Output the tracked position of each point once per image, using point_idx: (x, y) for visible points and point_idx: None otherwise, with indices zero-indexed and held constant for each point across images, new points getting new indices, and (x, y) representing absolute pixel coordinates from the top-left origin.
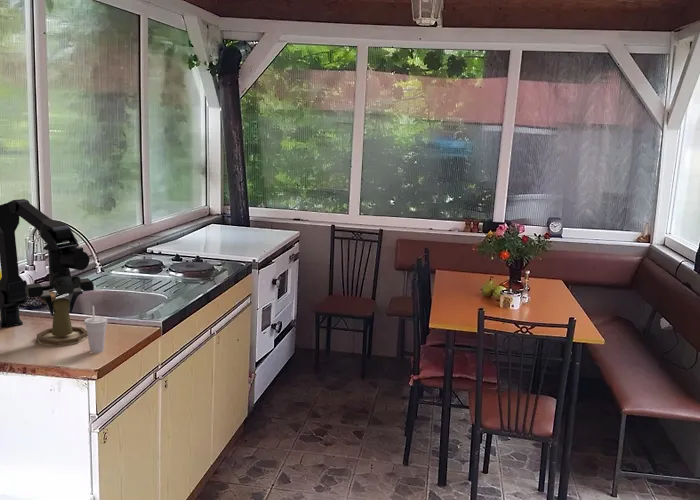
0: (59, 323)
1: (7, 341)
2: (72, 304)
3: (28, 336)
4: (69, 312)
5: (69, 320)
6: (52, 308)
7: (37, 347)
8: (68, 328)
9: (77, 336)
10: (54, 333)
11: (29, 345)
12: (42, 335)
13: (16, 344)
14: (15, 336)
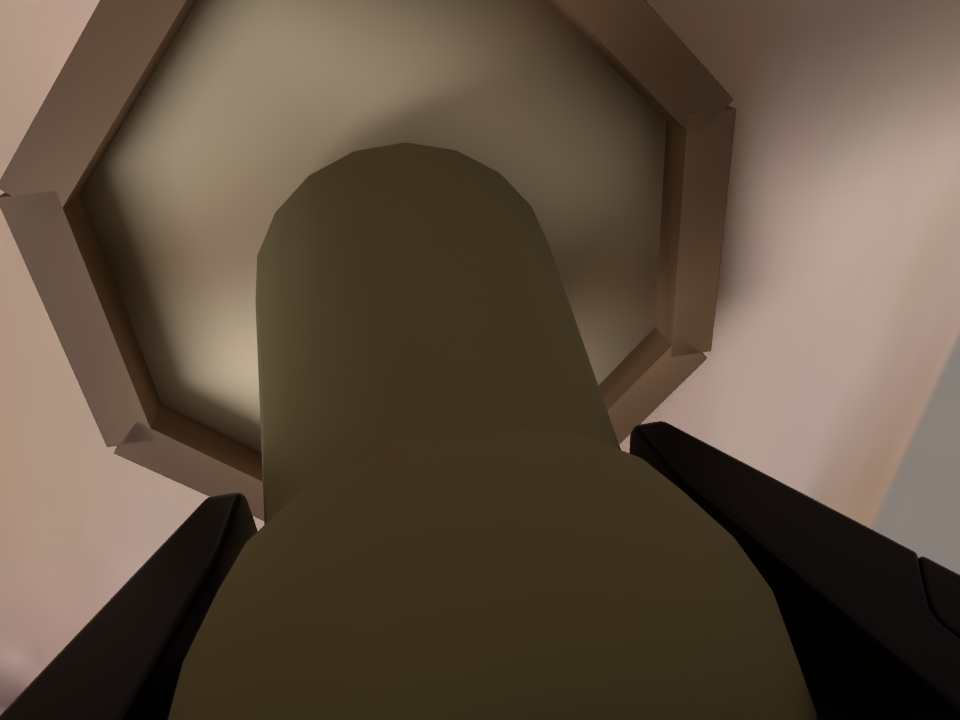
0: (490, 250)
1: (930, 361)
2: (76, 691)
3: (723, 444)
4: (254, 532)
5: (278, 329)
6: (751, 526)
7: (761, 3)
8: (315, 217)
9: (193, 196)
10: (536, 219)
11: (812, 138)
12: (629, 364)
13: (906, 234)
14: (818, 475)
